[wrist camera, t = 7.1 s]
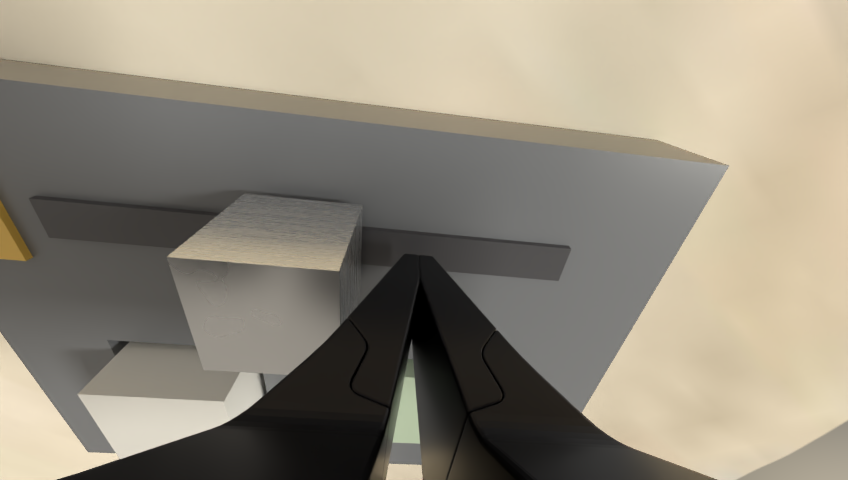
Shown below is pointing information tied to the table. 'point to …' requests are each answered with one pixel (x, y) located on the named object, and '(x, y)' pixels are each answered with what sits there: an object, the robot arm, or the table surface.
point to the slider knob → (269, 281)
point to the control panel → (322, 181)
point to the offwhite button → (164, 396)
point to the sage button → (407, 410)
